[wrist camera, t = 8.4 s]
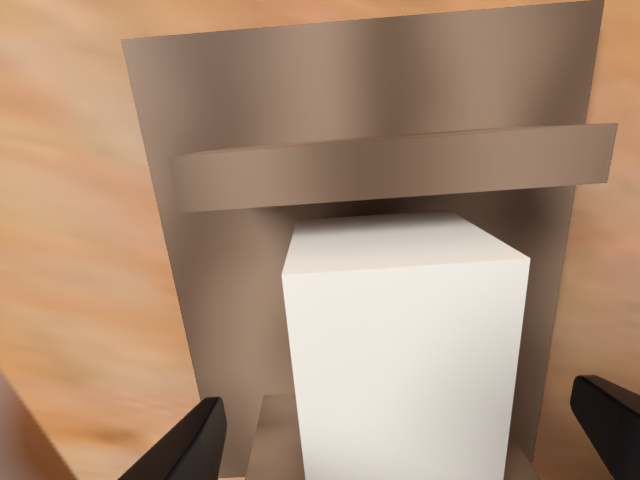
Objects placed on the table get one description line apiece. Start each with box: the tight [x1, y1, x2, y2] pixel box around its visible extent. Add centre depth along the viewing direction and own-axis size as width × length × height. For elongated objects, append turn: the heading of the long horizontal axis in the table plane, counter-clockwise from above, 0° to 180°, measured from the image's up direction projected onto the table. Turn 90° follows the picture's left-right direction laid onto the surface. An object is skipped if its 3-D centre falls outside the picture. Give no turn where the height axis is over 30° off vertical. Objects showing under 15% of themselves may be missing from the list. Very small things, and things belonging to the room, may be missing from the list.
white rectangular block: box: [281, 210, 531, 480], centre depth 10 cm, size 8×5×4 cm, turn 4°
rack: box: [121, 0, 618, 480], centre depth 12 cm, size 16×20×6 cm
